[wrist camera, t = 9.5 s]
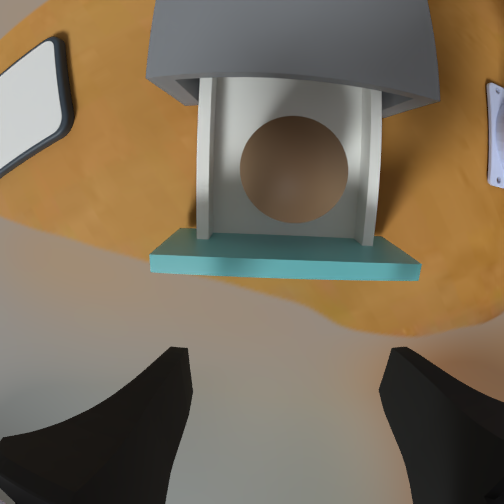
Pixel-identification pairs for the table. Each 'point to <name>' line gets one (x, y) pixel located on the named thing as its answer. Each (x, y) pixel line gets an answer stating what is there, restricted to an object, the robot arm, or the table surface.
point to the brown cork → (294, 169)
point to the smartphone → (34, 103)
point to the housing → (297, 46)
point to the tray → (262, 226)
